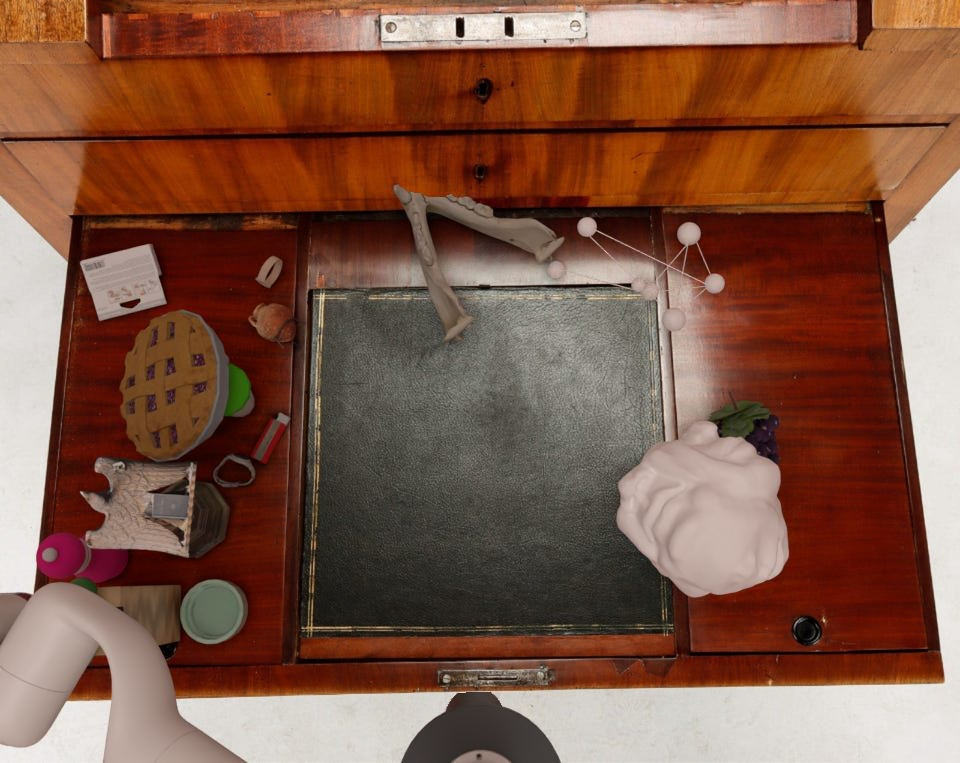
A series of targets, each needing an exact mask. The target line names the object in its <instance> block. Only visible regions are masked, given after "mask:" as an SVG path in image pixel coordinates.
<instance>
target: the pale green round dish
mask: <svg viewBox="0 0 960 763" xmlns="http://www.w3.org/2000/svg"><path fill="white" fill-rule="evenodd" d="M246 596H247V595H246V594H245V592H244V591H243V589H242V588H241V587H240V586H239V585H237V584H235V583H234V582H233V581H230V580H226V579H223V578H220V579H219V578H216V579H206V580H203V581H201V582H198V583H196V584H195V585H194V586H193V587H191V588H190V589H189V590H188V592H186V594H185V596H184V597H183V599H182V601H181V608H180V623H181V625H182V629H183V630H184V631H185V633H186V634H187V635H188V637H190V638H191V639H193V640H194V641H195V642H197V643H201V644H205V645H215V644H220V643H223V642H226V641H229V640H231V639H233V638H234V637H235V636H236V635H237V634H239V633H240V632H241V630H242V629H243V628H244V626H245V625H246V622H247V618H248V615H249V603H248V599H247V597H246Z"/></svg>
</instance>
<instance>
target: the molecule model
mask: <svg viewBox="0 0 960 763" xmlns="http://www.w3.org/2000/svg"><path fill="white" fill-rule="evenodd" d="M576 227H577V232H578V233H579V235H580V236H582V237H584V238H588V237H589V238H590V239H591V240H592V241H593V242H594V243H595V244H597V246H598V247H599V248H600V249H601V250H603V251H604V252H605V253H606V254H607V255H608V256H609V257H610V258H611V259H612V260H613V261H614V262H615V263H616V264H617V265H618V266H619V267H620V268H622V270H624V271H625V272H626V273H627V274H628V275H629V276H630V278H632V279H633V280H632V281H631V288H630V287H627V286H623V285H619V284H616V283H612V282H609V281H605V280H602V279H598V278H595V277H590V276H586V275H583V274H580V273H576V272H573V271H569V270H566V266H565V265H564V263H562V261H559V260H553V261H552V262H548V264H547V266H546V275H547V276H548V277H549V279H552V280H560V279H561V278H563V277H564V275H565V273H568V274H569V273H570V274H573V275H576V276H581V277H583V278H587V279H592V280H595V281H597V282H602V283H606V284H609V285H613V286H617V287H620V288H624V289H627V290H631V291H634V292H635V293H639V294H640V297H641V298H642V299H644V300H645V301H649V302H650V301H653V300H655V301H656V302H657V303H658V304H659V305H660V306H661V307H662V308H663V309H664V310H665V311H664V312H663V314H662V317H661V324H662V326H663V327H664V328H665V329H666V330H667V331H669V332H679V331H681V330H683V328H684V327H685V326H686V323H687V316H686V314H685V312H684V308H685V307H687V306H688V305H690V303H691V302H692V301H694V300H695V299H697V297H699V295H701V294H702V293H703V292H704V291H705V290H706V291H707V292H708V293H710V294H719V293H720V292H722V291H723V290H724V288H725V283H726V282H725V279H724V277H723V276H722V275H721V274H719V273H711V272H710V269H709V267H708V264H707V262H706V260H705V257H704V255H703V252H702V250H701V248H700V245H699V243H698V241H699V240H700V238H701V234H702V232H701V229H700V227H699V226H698V224H696V223H694V222H690V221H688V222H687V221H686V222H684V223H682V224H681V225H680V226H679V227H678V229H677V231H676V232H677V233H676V237H677V240H678V241H679V242H680V244H682V245H684V247H683V248H682V249H681V250H680V251H679V253H677V255H676V256H675V257H674V258H673V259H672V260H671V262H670V263H669V264H667V263H664V262H663V261H661V260H659V259H657V258H655V257H653V256H650V255H649V254H646V253H644V252H643V251H641V250H638V249H636V248H634V247H632V246H631V245H629V244H626V243H624V242H622V241H620V240H618V239H615V238H613V237H611V236H610V235H608V234H606V233H605V232H604V233H603V232H602V231H599V230H597V228H598V226H597V222H596V221H595V219H594V218H592V217H590V216H589V217H588V216H586V217H585V216H584V217H583V218H581V219H580V220H579V221H578V223H577V226H576ZM596 232H598V233H599V234H600V235H601V234H602V235H603V236H605V237H607V238H610V239H611V240H614V241H615V242H618V243H620V244H622V245H623V246H626V247H629V248H630V249H632V250H634V251H636V252H638V253H641V254H642V255H644V256H646V257H648V258H651V259H653V260H654V261H657V262H658V263H660V264H663V265H665V266H666V267H665V269H664V270H663V271H662V272H661V273H660V274H659V276H658V277H657V278H656V279H655V280H654V281H647V282H646V281H645V279H644V278H642V277H636V278H635V277H633V275H632V274H630V273H629V271H627V270H626V269H625V268H624V267H623V265H621V264H620V263H619V262H618V261H617V260H616V259H615V258H614V257H613V256H612V255H611V254H610V253H609V252H607V250H605V248H603V247H602V246H601V245H600V244H599V243H598V242H597V241H596V240H595V239H594V238H593V237H592V236H594V235H595V233H596ZM695 244H696V245H697V247H698V251H699V252H700V255H701V257H702V259H703V262H704V264H705V266H706V269H707V271H708V273H709V275H707V276H706V278H705V279H704V281H702V280H700V279H698V278H697V277H696V278H695V277H694V276H691V275H689V274H688V273H685V272H684V271H685V266H686V259H687V253H688V248H689V246H692V245H695ZM685 248H686V249H685ZM684 250H685V253H684V254H685V255H684V260H683V264H682V265H683V266H682V271H681V270H680V269H677V268H675V267H673V266H671V265H672V264H673V263H674V262H675V260H676V259H677V258H678V257H679V255H680V254H681V253H682V252H683V251H684ZM668 268H671V269H673V270H675V271H677V272H679V273H681V277H680V282H679V288H674V289H673V288H672V289H664V290H660V288H659V286H658V285H657V283H656V282H657V281H658V280H659V278H661V276H662V275H663V274H664V273H665V272H666V270H667V269H668ZM684 275H685V276H687V277H689V278H691V279H694V280H696V281H697V282H700V283H701V284H703V285H700V286H692V287H682V281H683V276H684ZM681 287H682V288H681ZM697 288H698V289H699V288H704V289H702V290H701V291H700V292H699V293H698V294H697V295H696V296H694V297H693V298H691V299H690V301H688V302H687V303H686V304H685V305H684V306H682V307H681V308H678V305H679V298H680V293H681V291H682V290H689V289H697ZM671 291H672V292H673V291H678V293H677V298H676V306H675V307H670V308H666V307H665V306H664V305H663V304H662V303H661V302H660V301H659V300H658V299H657V298H658V296H659V294H660V293H662V292H671Z"/></svg>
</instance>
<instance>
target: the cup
mask: <svg viewBox="0 0 960 763" xmlns="http://www.w3.org/2000/svg"><path fill="white" fill-rule="evenodd" d="M228 367H229V396H228V400H227V404H226V408H225V412H224V416H223V417H233V418H244V417H246V416H248V415H250V414H251V412H252V411H253V409H254V408H255V400H256V398H255V397H254V394H253V392H252V383H251V381H250V379H249V378H248V376H247V373H246V372H245V370H243V369H241V368H240V367H238V366H236V365H234V364H233V363H229V364H228Z"/></svg>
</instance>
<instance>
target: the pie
mask: <svg viewBox="0 0 960 763" xmlns="http://www.w3.org/2000/svg"><path fill="white" fill-rule="evenodd" d="M225 354H226V353H225V348H224V344H223V343H222V341H221V339H220V338H219V336H218V335H217V334H216V331H215V330H214V329H213V328H212V327H210V326H209V325H208V324H207V323H206V322H205V320H204V319H203V317H202V316H201V315H200V314H198V313H194V312H192V311H188V310H186V309H178V310H173V311H168V312H167V313H164V314H162V315H161V316H156V317H154V318H152V319H150V320H149V326H148V327H146V328H145V329H141V330H139V332H138V334H137V335H136V337H135V338H134V346H133V348H132V350H130V351H128V352H126V355H125V359H124V361H123V363H124V366H125V371H124V376H123V378H122V379H121V381H120V385H119V389H118V391H119V392H121V394H122V399H123V402H122V403H121V405H120V406H119V411H120V417H121V418H122V419H123V420H125V421H126V431H125V434H126V436H127V437H128V439H129V440H130V441H131V442H133V444H134V445H135V451H136V452H137V453H139V454H140V455H142V456H145V457H147V458H149V459H150V460H153V462H161V463H163V462H167V461H175V460H179V459H180V458H181V457H183V456H184V455H186V454H187V453H189V452H190V451H191V450H194V449H195V448H196V447H198V446H199V445H201V444H202V443H203V442H205V441H207V440H208V439H209V438H210V437H212V435H213V434H214V432H215V431H216V430H217V428H218V427H219V425H220V424H221V422H222V421H223V420H224V417H225V416H224V412H225V408H226V404H227V400H228V396H229V367H228V363H227V359H226V356H225Z"/></svg>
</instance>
